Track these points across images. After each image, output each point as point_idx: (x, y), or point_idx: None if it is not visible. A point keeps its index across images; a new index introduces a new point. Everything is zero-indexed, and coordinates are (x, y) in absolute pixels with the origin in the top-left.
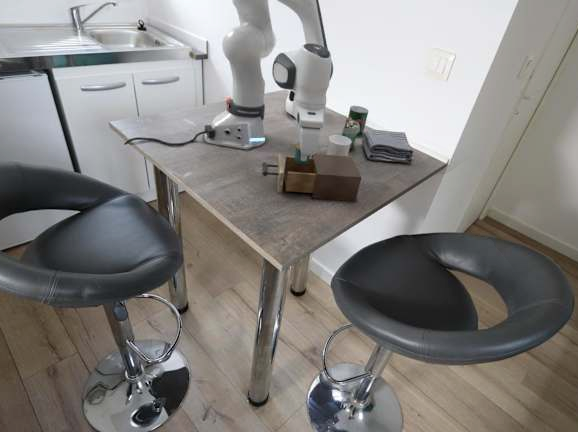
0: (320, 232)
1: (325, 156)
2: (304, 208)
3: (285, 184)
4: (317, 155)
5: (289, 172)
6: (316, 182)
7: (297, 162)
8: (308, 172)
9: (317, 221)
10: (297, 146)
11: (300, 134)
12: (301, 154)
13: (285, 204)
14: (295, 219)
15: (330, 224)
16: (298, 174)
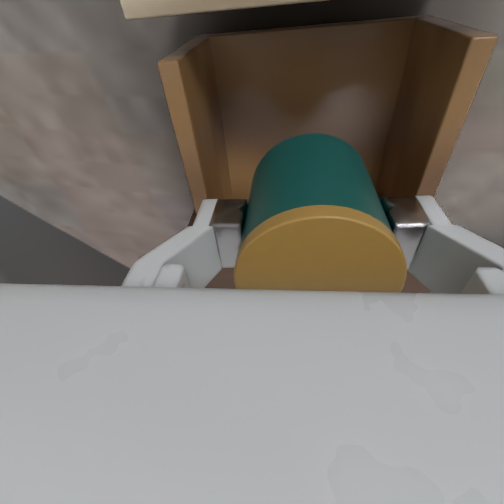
0: (10, 181)
1: None
2: (119, 135)
3: (247, 32)
4: (412, 277)
5: (164, 76)
6: (190, 223)
7: (263, 157)
8: (379, 182)
9: (63, 177)
10: (282, 227)
11: (107, 466)
12: (178, 234)
13: (105, 35)
14: (19, 91)
15: (74, 214)
16: (179, 145)
